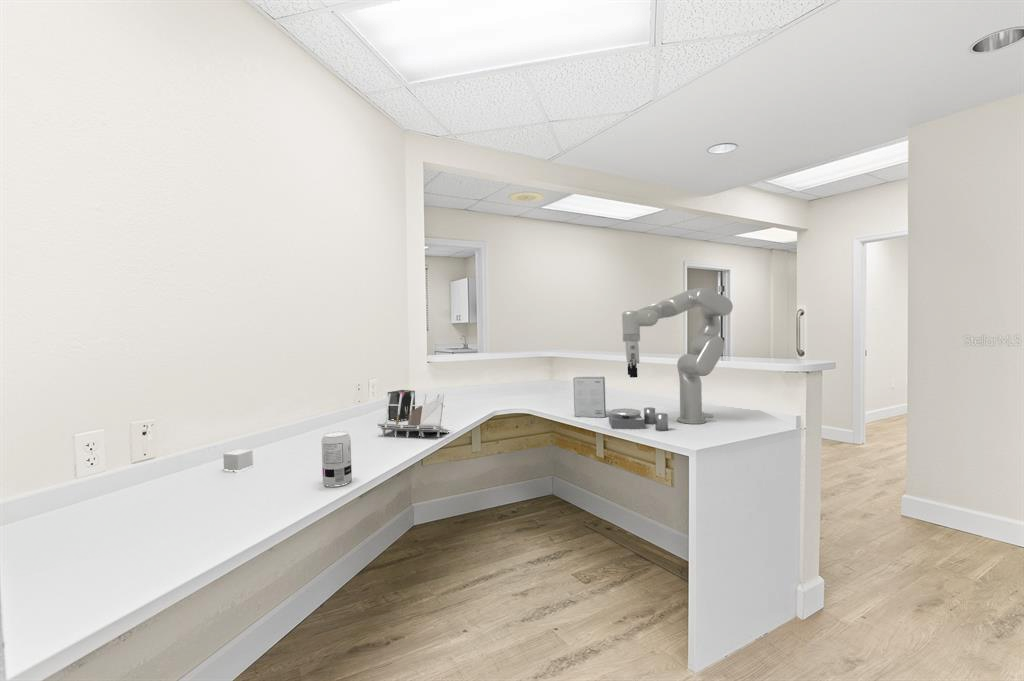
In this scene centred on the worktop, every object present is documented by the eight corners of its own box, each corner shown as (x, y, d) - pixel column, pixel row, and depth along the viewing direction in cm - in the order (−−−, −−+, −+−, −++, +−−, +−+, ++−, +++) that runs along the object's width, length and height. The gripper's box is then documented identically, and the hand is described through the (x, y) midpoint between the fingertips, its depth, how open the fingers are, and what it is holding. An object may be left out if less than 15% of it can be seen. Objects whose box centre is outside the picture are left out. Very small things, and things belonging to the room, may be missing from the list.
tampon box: (400, 421, 228) (399, 393, 228) (387, 420, 233) (387, 392, 233) (416, 418, 237) (415, 390, 237) (403, 416, 242) (402, 389, 242)
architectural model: (430, 436, 181) (436, 384, 188) (367, 433, 190) (375, 383, 196) (450, 441, 200) (455, 393, 206) (392, 438, 208) (399, 392, 214)
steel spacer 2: (666, 428, 198) (666, 412, 198) (668, 431, 194) (668, 415, 193) (654, 428, 199) (654, 412, 199) (656, 431, 194) (656, 415, 194)
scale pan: (638, 414, 212) (638, 408, 212) (642, 419, 200) (642, 413, 200) (610, 414, 214) (609, 408, 214) (612, 419, 201) (612, 413, 201)
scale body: (639, 422, 213) (639, 413, 213) (644, 428, 199) (644, 419, 199) (609, 422, 215) (608, 413, 215) (611, 428, 201) (611, 419, 201)
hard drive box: (606, 414, 233) (605, 376, 233) (605, 417, 226) (604, 378, 225) (575, 414, 237) (575, 376, 237) (574, 416, 230) (573, 377, 229)
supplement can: (317, 484, 136) (315, 435, 136) (342, 477, 143) (340, 429, 142) (332, 489, 131) (330, 438, 131) (357, 481, 138) (355, 432, 137)
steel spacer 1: (654, 422, 213) (654, 407, 212) (656, 424, 208) (656, 409, 208) (643, 422, 213) (643, 407, 213) (645, 424, 208) (645, 409, 208)
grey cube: (224, 471, 152) (223, 453, 152) (239, 466, 158) (238, 449, 158) (238, 472, 150) (237, 454, 150) (253, 467, 156) (252, 450, 156)
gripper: (642, 338, 194) (643, 378, 195) (637, 337, 212) (638, 373, 212) (624, 339, 196) (625, 378, 196) (621, 338, 213) (622, 374, 213)
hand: (632, 376), depth 204 cm, fingers open, 9 cm apart
